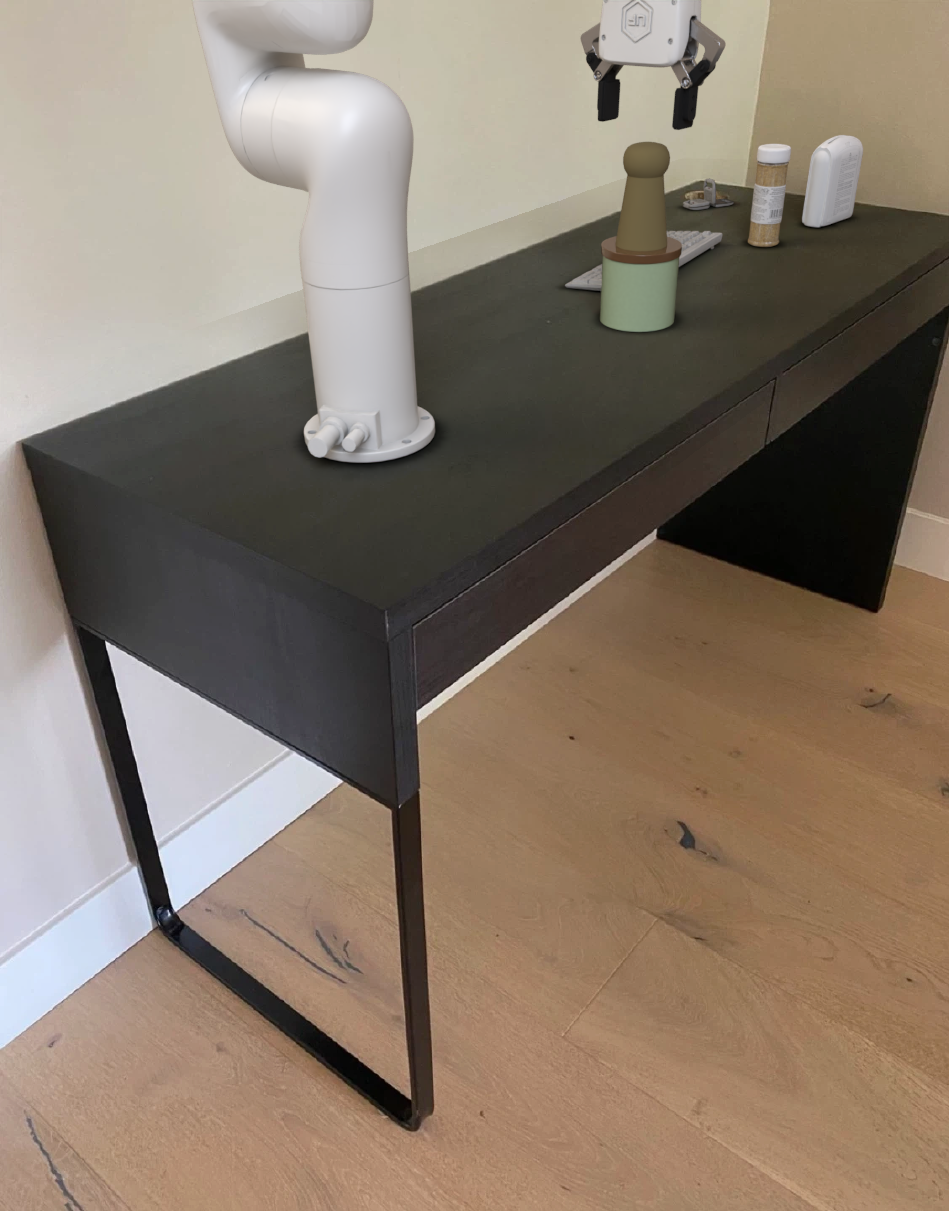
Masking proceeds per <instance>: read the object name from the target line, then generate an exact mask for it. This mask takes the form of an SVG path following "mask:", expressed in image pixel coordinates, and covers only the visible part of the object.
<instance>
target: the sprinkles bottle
mask: <svg viewBox="0 0 949 1211" xmlns="http://www.w3.org/2000/svg"><path fill="white" fill-rule="evenodd" d="M756 151H757V153H756V161H757V162H756V171H755V178H754V179H755V180H754V186H753V192H752V194H753V195H752V202H751V203H752V204H751V211H750V224H749V233H748V238H747V243H748V244H749V245H751V246H752V247H758V248H772V247H775V246H777V245H778V244H779V243H780V240H779V239H780V238H779V237H780V230H781V223H782V219H783V211H784V205H785V204H784V203H785V196H786V190H787V189H786V188H787V177H788V176H787V175H788V166H789V162H790V160H791V154H792V147H791V146H790V145H788V144H783V143H766V144H761V145H759V146H758V147H757V150H756Z"/></svg>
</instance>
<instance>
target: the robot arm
mask: <svg viewBox="0 0 949 1211" xmlns="http://www.w3.org/2000/svg"><path fill="white" fill-rule="evenodd" d="M191 4H192V11H193V14H194V19H195V25H196V28H197V32H198V36H199V41H200V45H201V48H202V52H203V56H204V60H205V64H206V69H207V72H208V76H209V80H210V84H211V88H212V92H213V97H214V99H215V104H216V107H217V111H218V115H219V119H220V123H221V126H222V130H223V133H224V136H225V139H226V141H227V144H228V146H229V148H230V150H231V152H232V154H233V155H234V157H235V159H236V161H237V162H238V164H240V165H241V167H242V168H243V169H244V170H245V171H247V173H249V174H250V175H251V176H254V177H255V178H256V179H259V180H261V181H263V182H265V183H269V184H273V185H277V186H280V187H281V186H282V187H284V188H285V187H286V188H291V189H294V190H295V189H296V190H300V191H303V192H306V193H308V202H307V207H306V212H305V214H304V218H303V222H302V225H301V229H300V232H299V233H300V234H299V242H298V257H299V258H298V259H299V268H300V277H301V283H302V292H303V300H304V309H305V316H306V325H307V334H308V342H309V350H310V351H309V352H310V358H311V359H310V360H311V368H312V375H313V382H314V383H313V384H314V391H315V392H314V393H315V400H316V410H317V413H316V414H314V415H313V416H312V417H311V418H310V419H309V420H308V421H307V422H306V424H305V425H304V426H303V436H304V442H305V443H304V444H305V445H306V446H307V449H308V451H309V453H310V454H311V455H312V456H313V457H315V458H319V459H320V458H326V459H328V460H330V461H337V462H342V463H352V464H363V463H364V464H370V463H380V462H386V461H393V460H397V459H400V458H404V457H407V456H409V455H412V454H414V453H416V452H418V451H420V450H422V449H424V448H425V447H426V446H427V445H429V443H431V441H432V440H433V438H435V434H436V422H435V421H436V420H435V419H434V416H433V415H432V414H431V413H430V412H429V411H427V410H426V409H424V408H423V407H420V406H418V395H417V394H418V392H417V380H416V379H417V378H416V375H417V374H416V360H415V359H416V358H415V343H414V342H415V341H414V329H413V328H414V326H413V325H414V324H413V309H412V292H411V276H410V264H409V263H410V262H409V245H408V244H409V243H408V201H409V200H408V199H409V189H410V182H411V174H412V167H413V159H414V138H415V137H414V128H413V123H412V119H411V116H410V114H409V111H408V108H407V107H406V105H405V103H404V101H403V100H402V99H401V97H400V95H398V94H397V93H396V91H394V90H393V88H391V87H390V86H388V85H387V84H386V83H384V82H383V81H381V80H379V79H378V78H376V77H372V76H370V75H367V74H365V73H360V72H355V71H347V70H341V69H340V70H339V69H330V68H321V67H315V68H313V67H311V68H310V67H306V62H305V57H304V55H311V56H312V55H313V56H315V55H316V56H327V55H336V54H342V53H344V52H347V51H349V50H351V49H354V48H356V47H357V46H358V45H359V44H360V43H361V42H363V40H365V38H366V37H367V35H368V33H369V31H370V28H371V25H372V22H373V18H374V4H375V3H374V0H191ZM600 13H601V14H600V22H598V23H597V24H595V25H593V26H592V27H591V28H589V29H587V30H585V32H583V33H582V34H580V43H581V46H582V48H583V51H584V54H585V55H586V56H585V61H586V63H587V65H588V67H589V68H590V69H591V71H592V73H593V79H594V81H596V82H597V85H598V86H597V101H596V102H597V104H596V110H597V121H598V122H602V123H603V122H608V121H612V120H616V119H618V118H619V113H620V100H621V99H620V97H621V79H620V78H617V76H618V74H619V73H620V71H621V70H622V69H623V67H624V66H628V67H629V66H630V67H631V66H632V67H645V68H668V67H670V68H671V69H672V72H673V73H674V75H675V77H676V79H677V81H678V83H679V84H680V87H676V88H675V90H674V98H673V111H672V125H671V128H672V129H673V130H675V131H680V130H681V131H682V130H685V129H689V128H692V127H693V125H694V120H695V118H696V115H697V108H698V107H697V105H698V95H699V87H701V86H702V85H703V84H704V83H705V80H707V78H708V77H709V76H710V75H711V74H712V72H713V71H715V69H716V67H717V62H718V61H719V60H720V58H721V56H722V54H723V52H724V50H725V48H726V40H724V39H723V38H722V37H721V36H720V35H718V34H717V33H716V32H714V31H713V30H711V29H710V28H709V27H708V26H706V25H705V24H704V23H703V22H702V0H602V4H601V12H600ZM701 45H702V47H703V48H704V53H703V55H702V56H703V57H702V59H701V60H699V61H698V62H697V60H696V58H697V56H698V52H699V46H701Z"/></svg>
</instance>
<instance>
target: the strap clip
mask: <svg viewBox="0 0 949 1211" xmlns="http://www.w3.org/2000/svg"><path fill="white" fill-rule="evenodd" d="M708 183H710V184H712V186H709V185H708ZM716 186H717V185H716V181H715V179H712V178H705V179H704V181H703V199H702V198H696V199H688V200H685V201H683V202H682V207H683V208H685V209H688V210H692V211H700V210H706V209H709V208H710V206H712V207H715V208H722V207H729V206H732V205H733V204H734V203H735V202H734V200H730V199H728V198H717V187H716Z"/></svg>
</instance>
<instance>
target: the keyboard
mask: <svg viewBox="0 0 949 1211" xmlns="http://www.w3.org/2000/svg"><path fill="white" fill-rule="evenodd" d="M667 237H671V238H674V239H676V240H678V241H680V242H681V243H682V253H681V255H680V257H679V268H680V267H682V266H683V265H684V264H686V263H688V262H690V261H691V260H693V259H694V258H696V257H697V256H699V255H701V254H703V253H704V252H706V251H708V250H709V249H710V250H713V249H714V248H715V246H716V245H717V244H719V243H720V242H722V240H723V233H722V232H711V230H704V231H702V232H700V231H699V230H692V231H691V230H677V231H676V230H669V231H668V230H667ZM601 279H602V263H601V264H599V265H597V266H595V267H594V268H592V269H591V270H587V271H586V272H584V273H582V274H581V275H579V276H577V277H575V278H572V280H571V281H569V282H567V283H565V285H564V287H565V288H566V289H577V290H588V291H600V292H601Z"/></svg>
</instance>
